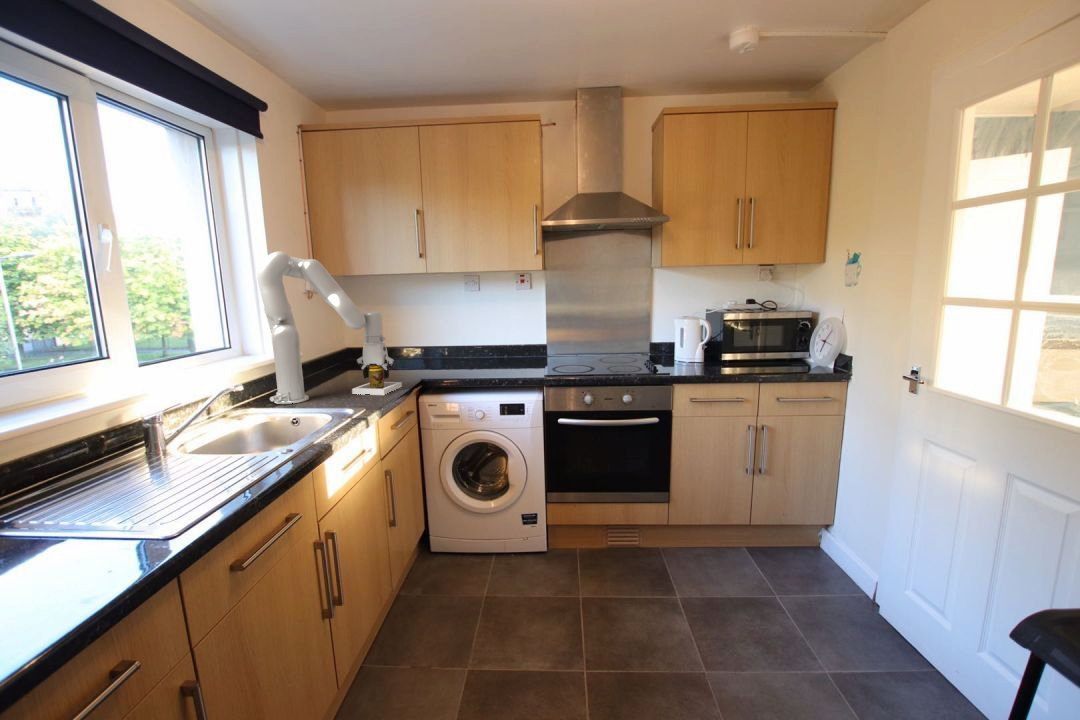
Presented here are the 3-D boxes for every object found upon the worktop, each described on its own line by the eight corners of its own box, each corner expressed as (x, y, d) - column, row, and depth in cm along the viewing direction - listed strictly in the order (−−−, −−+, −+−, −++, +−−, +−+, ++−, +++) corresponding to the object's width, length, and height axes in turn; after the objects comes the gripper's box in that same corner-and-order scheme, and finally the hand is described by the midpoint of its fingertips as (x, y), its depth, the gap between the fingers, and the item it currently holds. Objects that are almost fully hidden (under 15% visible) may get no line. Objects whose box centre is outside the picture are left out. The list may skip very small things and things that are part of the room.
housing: (384, 395, 197) (383, 389, 197) (352, 394, 200) (352, 388, 200) (401, 387, 213) (401, 382, 212) (372, 387, 216) (371, 381, 215)
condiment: (381, 391, 202) (379, 364, 201) (362, 390, 203) (360, 364, 201) (388, 387, 209) (386, 361, 208) (370, 387, 210) (368, 361, 209)
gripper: (396, 339, 205) (398, 377, 207) (360, 338, 208) (363, 376, 211) (387, 340, 198) (389, 380, 200) (351, 340, 201) (353, 379, 203)
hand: (376, 378), depth 205 cm, fingers open, 9 cm apart
